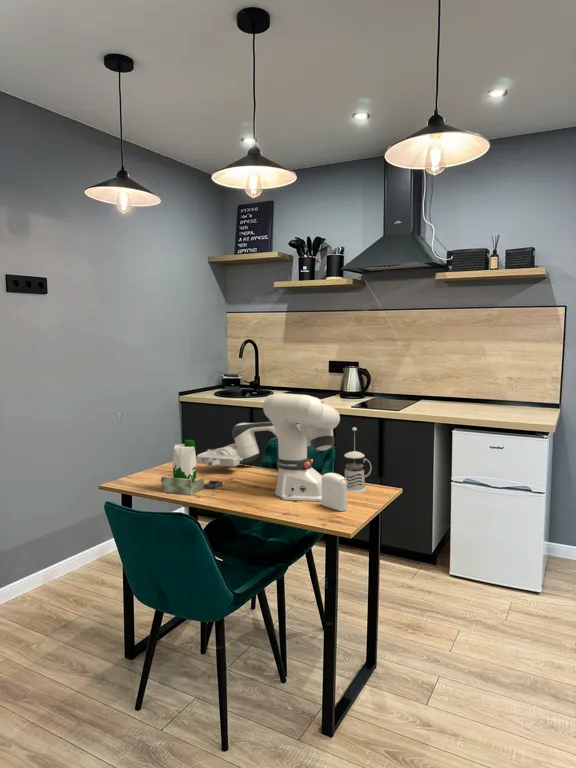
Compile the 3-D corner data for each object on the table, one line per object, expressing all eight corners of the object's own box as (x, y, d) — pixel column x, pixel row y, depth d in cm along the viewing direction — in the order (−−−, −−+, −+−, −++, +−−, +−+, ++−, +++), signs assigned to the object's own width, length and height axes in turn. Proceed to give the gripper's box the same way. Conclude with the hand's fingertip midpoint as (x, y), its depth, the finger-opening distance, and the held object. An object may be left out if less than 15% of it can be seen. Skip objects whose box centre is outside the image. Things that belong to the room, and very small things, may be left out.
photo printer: (320, 505, 190) (319, 472, 189) (328, 503, 193) (328, 470, 192) (340, 512, 182) (340, 477, 181) (349, 510, 185) (348, 475, 184)
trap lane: (222, 485, 219) (222, 470, 219) (201, 496, 203) (201, 481, 203) (174, 480, 227) (174, 466, 227) (151, 490, 211) (151, 476, 211)
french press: (341, 485, 216) (340, 425, 214) (369, 485, 216) (369, 425, 214) (343, 492, 206) (343, 429, 205) (373, 492, 206) (373, 429, 204)
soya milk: (196, 492, 209) (195, 442, 207) (173, 493, 207) (171, 443, 206) (196, 486, 217) (195, 438, 216) (174, 487, 216) (173, 439, 214)
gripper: (244, 465, 242) (231, 472, 229) (205, 462, 249) (190, 468, 236) (244, 451, 242) (230, 458, 229) (205, 449, 249) (189, 455, 236)
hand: (209, 463), depth 233 cm, fingers closed
